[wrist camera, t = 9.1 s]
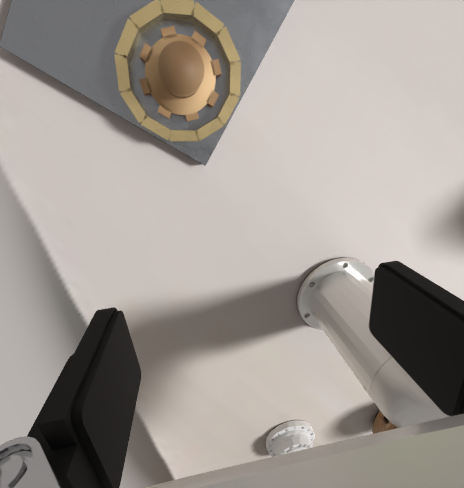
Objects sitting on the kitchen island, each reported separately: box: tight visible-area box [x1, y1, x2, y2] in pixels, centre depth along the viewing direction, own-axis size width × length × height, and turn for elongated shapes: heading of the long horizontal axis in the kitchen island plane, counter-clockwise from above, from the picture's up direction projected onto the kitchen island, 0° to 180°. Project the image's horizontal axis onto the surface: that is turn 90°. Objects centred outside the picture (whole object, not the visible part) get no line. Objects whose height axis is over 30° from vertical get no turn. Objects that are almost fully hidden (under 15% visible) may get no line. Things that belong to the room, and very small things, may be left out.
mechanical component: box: [266, 420, 315, 457], centre depth 54 cm, size 10×4×10 cm
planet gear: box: [139, 26, 222, 122], centre depth 24 cm, size 8×8×6 cm
